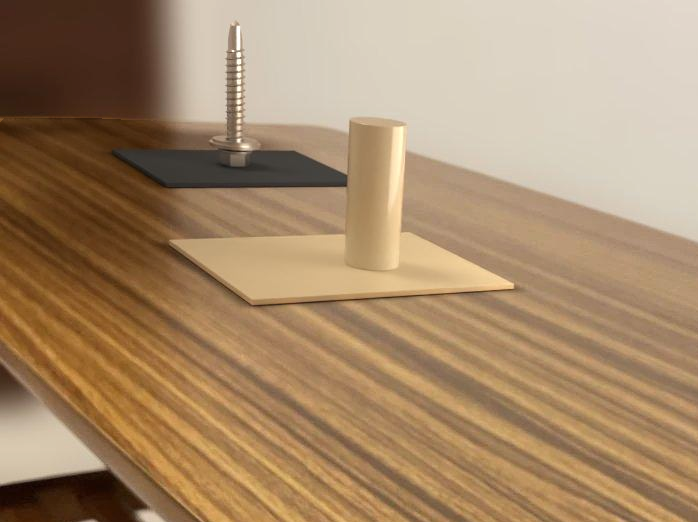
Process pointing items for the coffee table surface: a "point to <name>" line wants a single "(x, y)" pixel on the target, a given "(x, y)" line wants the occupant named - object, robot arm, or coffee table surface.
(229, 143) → the screw
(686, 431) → the coffee table surface
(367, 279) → the cream mat
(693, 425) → the coffee table surface
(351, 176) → the cream peg
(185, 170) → the slate mat
